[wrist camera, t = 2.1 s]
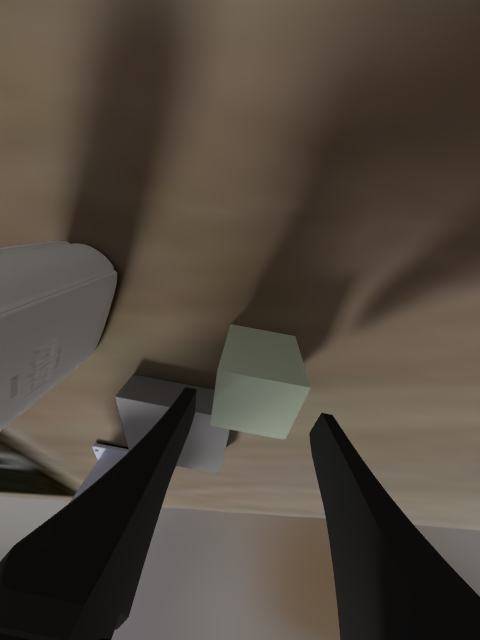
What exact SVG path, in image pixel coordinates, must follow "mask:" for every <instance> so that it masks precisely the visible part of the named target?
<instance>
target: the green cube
mask: <svg viewBox="0 0 480 640" xmlns="http://www.w3.org/2000/svg"><path fill="white" fill-rule="evenodd" d="M310 389H311V386H310V383H309V380H308V376H307V373H306V370H305V366H304V363H303V360H302V357H301V353H300V350H299V347H298V343H297V340H296V337H295V336H292V335H287V334H281V333H276V332H270V331H265V330H260V329H254V328H249V327H243V326H238V325H233V324H230V327H229V331H228V334H227V338H226V341H225V345H224V349H223V352H222V356H221V359H220V363H219V366H218V370H217V377H216V384H215V392H214V400H213V407H212V415H211V422H210V426H214V427H219V428H224V429H230V430H235V431H240V432H246V433H251V434H256V435H262V436H267V437H272V438H277V439H283V440H285V439H286V437H287V435H288V433H289V431H290V429H291V427H292V425H293V423H294V421H295V419H296V417H297V415H298V413H299V411H300V409H301V407H302V405H303V403H304V401H305V399H306V397H307V395H308V393H309V391H310Z"/></svg>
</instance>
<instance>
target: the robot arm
mask: <svg viewBox="0 0 480 640" xmlns="http://www.w3.org/2000/svg"><path fill="white" fill-rule="evenodd" d="M196 393H197V389H193V388H188V387H186V388H184V389H183V391H182V392H181V394H180V395H179V397H178V398H177V399H176V400H175V402H174V403H173V404H172V406H171V407H170V408H169V409H168V410H167V412H166V413H165V414H164V415H163V416H162V417H161V419H160V420H159V421H158V422H157V423H156V424H155V425H154V426H153V428H152V429H151V430H150V431H149V432H148V433H147V434H146V435H145V436H144V437H143V438H142V439H141V440H140V441H139V442H138V443H137V444H136V445H135V446H134V447H133V448H132V449H131V450H130V451H129V449H124V448H119V447H114V446H109V445H103V444H98V443H95V444H94V445H93V446H92V448H93V450H94V453H95V455H96V457H97V459H98V461H97V463H96V464H95V466H94V467H93V469H92V470H91V472H90V473H89V475H88V476H87V478H86V479H85V480H84V482H83V483H82V485H81V486H80V488H79V489H78V491H77V492H76V494H75V495H74V497H73V498H72V500H71V501H70V503H69V504H68V505H67V506H65V507H64V508H63V509H62V510H60V511H59V512H58V513H57V514H55V515H54V516H52V517H51V518H50V519H48V520H47V521H46V522H44V523H43V524H42V525H41V526H39V527H38V528H37V529H35V530H34V531H33V532H31V533H30V534H29V535H27V536H26V537H25V538H23V539H22V540H21V541H19V542H18V543H17V544H16V545H14V546H13V548H12V549H11V550H10V551H9V552H8V553H7V555H6V556H5V557H4V558H3V559H2V560H1V562H0V640H111V638H112V636H113V633H114V630H115V629H117V628H119V627H120V626H121V624H123V623H124V621H125V620H126V619H127V618H128V617H129V613H130V610H131V607H132V603H133V600H134V596H135V593H136V589H137V586H138V583H139V579H140V576H141V572H142V569H143V565H144V562H145V559H146V555H147V552H148V549H149V546H150V542H151V539H152V536H153V532H154V529H155V526H156V523H157V520H158V516H159V513H160V510H161V507H162V504H163V500H164V497H165V494H166V491H167V488H168V485H169V482H170V479H171V477H172V474H173V472H174V469H175V467H176V464H177V462H178V459H179V457H180V454H181V452H182V449H183V447H184V444H185V442H186V439H187V436H188V434H189V431H190V428H191V425H192V422H193V418H194V415H195V410H196ZM309 434H310V444H311V452H312V457H313V462H314V466H315V471H316V475H317V479H318V484H319V488H320V492H321V497H322V501H323V505H324V510H325V515H326V521H327V528H328V535H329V540H330V548H331V556H332V562H333V570H334V579H335V587H336V596H337V606H338V617H339V628H340V639H341V640H480V597H479V596H478V595H477V594H476V593H475V591H474V590H473V589H472V588H471V587H470V586H469V585H468V584H467V583H466V582H465V581H464V580H463V579H462V578H461V577H460V576H459V575H458V574H457V573H456V572H455V571H454V569H453V568H452V567H451V566H450V565H449V564H448V563H447V562H446V561H445V560H444V559H443V558H442V557H441V555H440V554H439V553H438V552H437V551H436V550H435V549H434V548H433V546H432V545H431V544H430V543H429V542H428V541H427V540H426V539H425V538H424V536H423V535H422V534H421V533H420V532H419V531H418V530H417V528H415V526H414V525H413V524H412V523H411V521H410V520H409V519H408V518H407V517H406V515H405V514H404V513H403V512H402V511H401V509H400V508H399V507H398V506H397V504H396V503H395V502H394V501H393V500H392V498H391V497H390V496H389V495H388V493H387V492H386V491H385V489H384V488H383V487H382V485H381V484H380V483H379V481H378V480H377V479H376V478H375V476H374V475H373V474H372V472H371V471H370V469H369V468H368V467H367V465H366V464H365V462H364V461H363V460H362V458H361V457H360V455H359V454H358V452H357V451H356V450H355V448H354V447H353V445H352V444H351V442H350V441H349V439H348V438H347V436H346V435H345V433H344V432H343V430H342V429H341V427H340V426H339V424H338V423H337V421H336V420H335V418H334V417H333V415H330V414H325V413H321V415H320V416H319V418H318V420H317V421H316V423H315V425H314V426H313V428H312V430H311V431H310V433H309Z"/></svg>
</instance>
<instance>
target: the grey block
mask: <svg viewBox="0 0 480 640" xmlns="http://www.w3.org/2000/svg"><path fill="white" fill-rule="evenodd" d="M186 387H188V388H193V389H197V393H196V410H195V415H194V418H193V422H192V425H191V428H190V431H189V434H188V436H187V439H186V442H185V444H184V447H183V449H182V452H181V454H180V457H179V459H178V462H177V464H176V466H181V467H186V468H191V469H196V470H201V471H206V472H211V473H216V474H220V471H221V467H222V462H223V458H224V453H225V449H226V444H227V440H228V436H229V431H230V429H224V428H219V427H214V426H210V422H211V415H212V407H213V400H214V392H215V390H213V389H208V388H202V387H197V386H192V385H186V384H181V383H176V382H171V381H165V380H160V379H155V378H149V377H144V376H139V375H134V374H133V375H132V377H131V378H130V379H129V380H128V382H127V383H126V384H125V385H124V386H123V388H122V389H121V390H120V391H119V393H118V394H117V395H116V396H115V398H116V402H117V406H118V410H119V414H120V418H121V422H122V425H123V429H124V433H125V437H126V441H127V445H128V449H129V451H130V450H131V449H132V448H133V447H134V446H135V445H136V444H137V443H138V442H139V441H140V440H141V439H142V438H143V437H144V436H145V435H146V434H147V433H148V432H149V431H150V430H151V429H152V428H153V426H154V425H155V424H156V423H157V422H158V421H159V420H160V419H161V417H162V416H163V415H164V414H165V413H166V412H167V410H168V409H169V408H170V407H171V406H172V404H173V403H174V402H175V400H176V399H177V398H178V397H179V395H180V394H181V392H182V391H183V389H184V388H186Z"/></svg>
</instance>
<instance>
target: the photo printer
mask: <svg viewBox="0 0 480 640" xmlns="http://www.w3.org/2000/svg"><path fill="white" fill-rule="evenodd" d="M116 284H117V272H116V271H115V270H114V267H113V265H112V264H111V262H110V261H109V260H108V259H107V258H106V257H105V256H104V255H103V254H102V253H101V252H99V251H98V250H96V249H94V248H93V247H90V246H88V245H85V244H79V243H75V244H70V243H68V242H67V241H52V242H43V243H35V244H28V245H19V246H11V247H4V248H0V431H1V430H2V429H3V428H5V427H6V426H7V425H8V424H9V423H11V422H12V421H13V420H14V419H15V418H17V417H18V416H19V415H20V414H22V413H23V412H24V411H25V410H26V409H28V408H29V407H30V406H31V405H33V404H34V403H35V402H36V401H37V400H39V399H40V398H41V397H42V396H43V395H45V394H46V393H47V392H48V391H49V390H51V389H52V388H53V387H54V386H56V385H57V384H58V383H59V382H60V381H62V380H63V379H64V378H65V377H67V376H68V375H69V374H70V373H71V372H72V371H74V370H75V369H76V368H77V367H79V366H80V365H81V364H82V363H83V362H84V361H86V360H87V359H88V358H89V357H90V355H91V354H92V353H93V352H94V350H95V349H96V347H97V345H98V343H99V340H100V337H101V335H102V332H103V329H104V326H105V323H106V320H107V317H108V314H109V310H110V307H111V303H112V300H113V296H114V293H115V289H116Z"/></svg>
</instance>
